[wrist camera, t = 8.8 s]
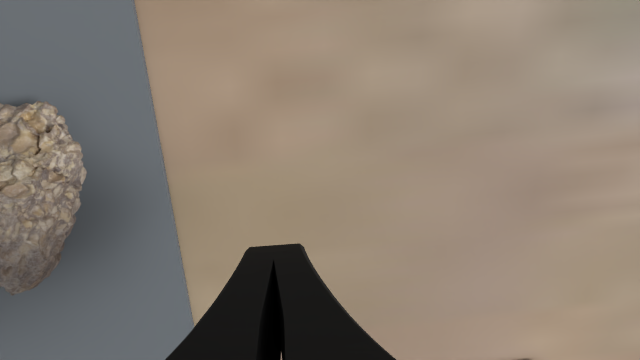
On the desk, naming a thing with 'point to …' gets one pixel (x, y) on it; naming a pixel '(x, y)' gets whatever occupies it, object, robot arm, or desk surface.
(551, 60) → the desk surface
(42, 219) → the rough beige rock
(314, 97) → the desk surface
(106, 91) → the charcoal mat
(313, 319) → the robot arm
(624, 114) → the desk surface
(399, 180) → the desk surface
